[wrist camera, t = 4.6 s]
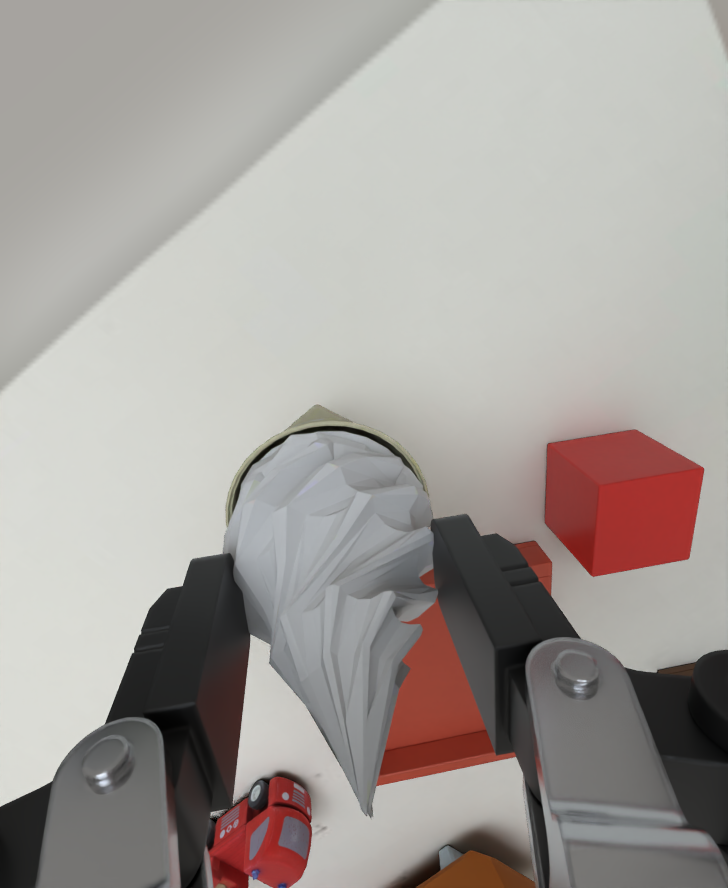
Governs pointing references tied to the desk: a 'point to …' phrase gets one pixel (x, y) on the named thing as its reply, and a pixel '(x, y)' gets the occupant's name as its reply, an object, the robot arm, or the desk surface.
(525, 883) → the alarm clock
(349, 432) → the ice cream cone
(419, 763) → the red tray
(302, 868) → the toy fire truck
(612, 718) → the robot arm
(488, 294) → the desk surface
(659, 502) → the red block
